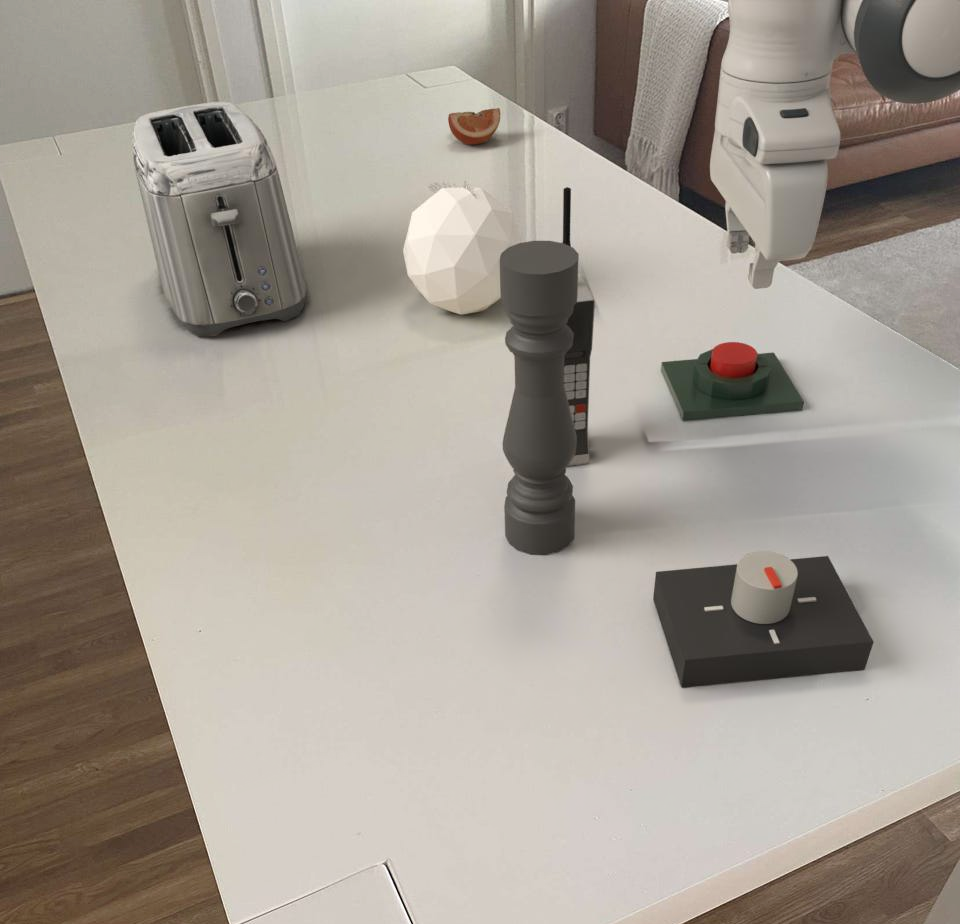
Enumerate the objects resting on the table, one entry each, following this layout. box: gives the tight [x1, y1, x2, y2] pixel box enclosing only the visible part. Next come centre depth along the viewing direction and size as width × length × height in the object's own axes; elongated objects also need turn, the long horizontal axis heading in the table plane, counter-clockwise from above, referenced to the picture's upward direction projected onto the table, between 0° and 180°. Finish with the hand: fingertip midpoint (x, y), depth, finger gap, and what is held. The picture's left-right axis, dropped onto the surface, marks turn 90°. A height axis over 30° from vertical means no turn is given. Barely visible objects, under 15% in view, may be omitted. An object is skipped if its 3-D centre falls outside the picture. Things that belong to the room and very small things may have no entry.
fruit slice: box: [447, 107, 501, 145], centre depth 160 cm, size 8×7×5 cm
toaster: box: [131, 101, 307, 338], centre depth 121 cm, size 17×30×19 cm, turn 19°
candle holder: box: [500, 240, 580, 556], centre depth 81 cm, size 6×6×25 cm
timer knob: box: [731, 550, 798, 624], centre depth 76 cm, size 4×4×4 cm
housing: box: [660, 348, 805, 422], centre depth 102 cm, size 12×10×4 cm
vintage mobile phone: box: [562, 186, 596, 467], centre depth 89 cm, size 4×5×25 cm
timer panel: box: [652, 555, 874, 689], centre depth 78 cm, size 14×10×3 cm
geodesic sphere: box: [402, 180, 523, 316], centre depth 117 cm, size 15×14×14 cm
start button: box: [710, 341, 758, 378], centre depth 101 cm, size 4×4×2 cm
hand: (747, 267), depth 94 cm, fingers open, 6 cm apart
